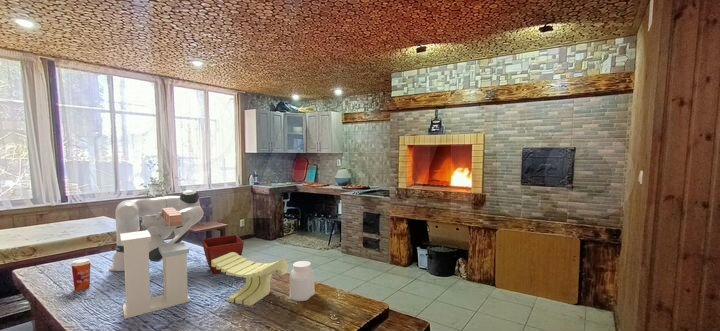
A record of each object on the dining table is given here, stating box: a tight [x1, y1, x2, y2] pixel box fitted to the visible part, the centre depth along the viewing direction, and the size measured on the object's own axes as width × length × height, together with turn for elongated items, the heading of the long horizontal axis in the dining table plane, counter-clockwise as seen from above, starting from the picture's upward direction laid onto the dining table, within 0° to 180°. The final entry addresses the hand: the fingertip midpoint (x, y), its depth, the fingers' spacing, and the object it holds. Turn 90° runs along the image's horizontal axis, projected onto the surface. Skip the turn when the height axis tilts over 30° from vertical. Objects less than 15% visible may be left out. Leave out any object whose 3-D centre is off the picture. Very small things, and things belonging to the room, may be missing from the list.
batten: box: [162, 207, 182, 227], centre depth 144 cm, size 24×4×4 cm, turn 39°
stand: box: [120, 230, 191, 320], centre depth 140 cm, size 14×24×32 cm, turn 129°
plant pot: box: [201, 234, 245, 276], centre depth 182 cm, size 19×19×17 cm
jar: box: [288, 260, 316, 302], centre depth 148 cm, size 12×10×15 cm
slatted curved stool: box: [211, 252, 288, 307], centre depth 147 cm, size 30×16×18 cm, turn 70°
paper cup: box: [70, 258, 92, 292], centre depth 157 cm, size 8×8×14 cm
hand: (168, 212), depth 151 cm, fingers closed on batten, 4 cm apart
